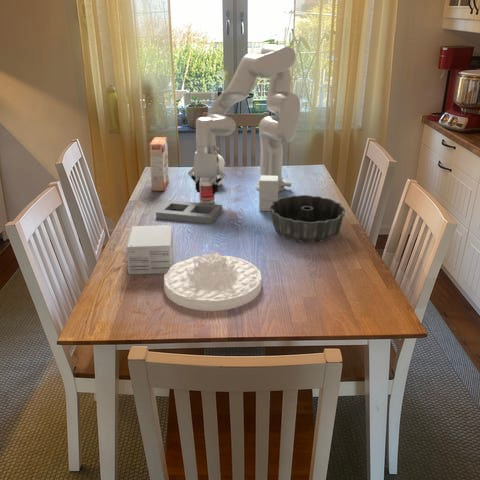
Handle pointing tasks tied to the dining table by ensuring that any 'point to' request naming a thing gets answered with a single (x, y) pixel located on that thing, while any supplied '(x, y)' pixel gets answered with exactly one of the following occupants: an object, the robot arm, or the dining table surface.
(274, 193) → the supplement box
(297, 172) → the dining table surface
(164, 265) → the supplement box
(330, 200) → the bundt pan
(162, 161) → the cracker box
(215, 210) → the rail
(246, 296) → the cake
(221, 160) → the cat figurine
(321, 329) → the dining table surface
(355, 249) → the dining table surface
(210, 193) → the pill bottle
